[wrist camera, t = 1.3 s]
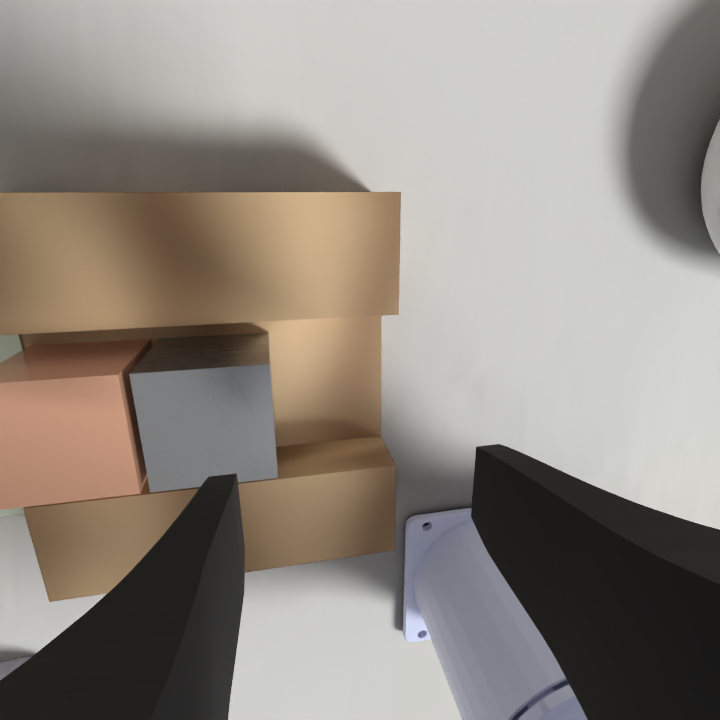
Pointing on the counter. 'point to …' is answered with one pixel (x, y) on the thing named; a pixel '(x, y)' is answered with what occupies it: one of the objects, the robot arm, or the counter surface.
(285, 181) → the counter surface
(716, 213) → the spoon rest
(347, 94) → the counter surface
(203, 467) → the grey steel block
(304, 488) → the oak channel board
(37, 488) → the terracotta block
